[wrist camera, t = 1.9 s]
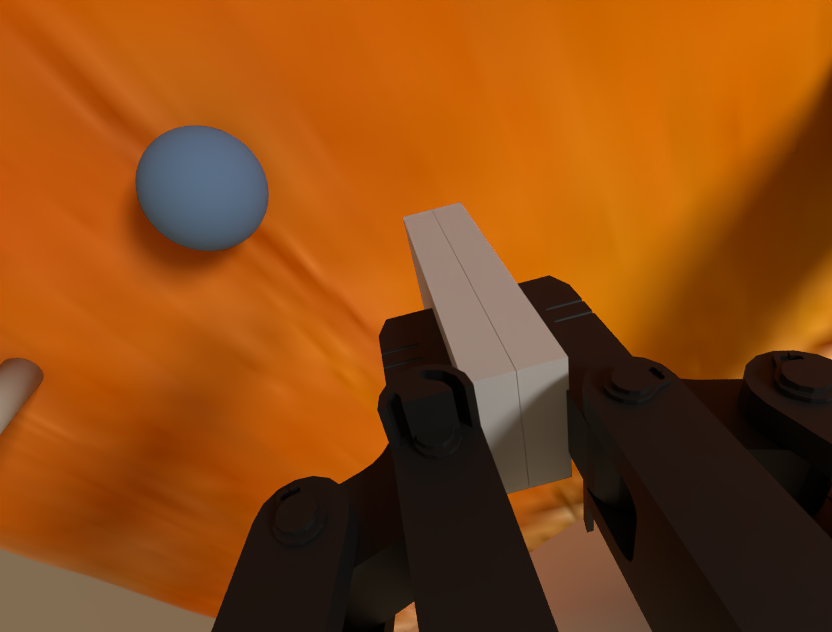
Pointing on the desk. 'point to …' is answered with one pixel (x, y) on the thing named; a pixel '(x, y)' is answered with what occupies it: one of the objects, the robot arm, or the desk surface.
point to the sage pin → (16, 387)
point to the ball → (202, 188)
